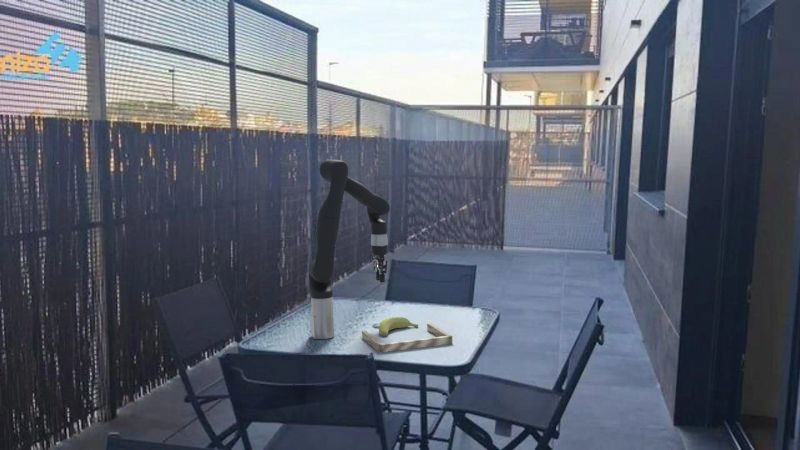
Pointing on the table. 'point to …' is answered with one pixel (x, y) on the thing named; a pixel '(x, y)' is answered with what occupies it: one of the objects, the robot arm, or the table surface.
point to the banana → (394, 324)
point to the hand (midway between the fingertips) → (380, 281)
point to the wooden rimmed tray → (410, 341)
